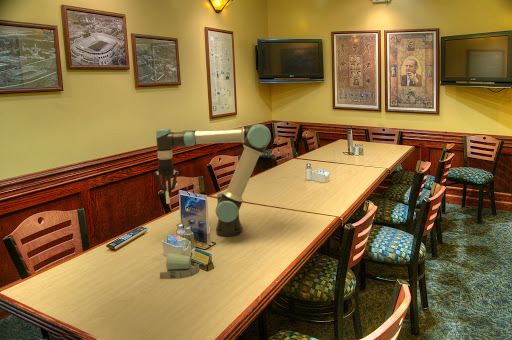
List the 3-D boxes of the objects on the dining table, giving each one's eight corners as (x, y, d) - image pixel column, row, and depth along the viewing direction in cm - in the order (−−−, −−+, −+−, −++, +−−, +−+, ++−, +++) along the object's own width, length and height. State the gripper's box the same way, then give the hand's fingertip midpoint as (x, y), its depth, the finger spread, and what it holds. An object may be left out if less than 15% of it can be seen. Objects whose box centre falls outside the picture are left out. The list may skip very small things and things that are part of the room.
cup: (187, 271, 202) (165, 270, 203) (191, 270, 210) (170, 269, 211) (188, 255, 204) (166, 253, 205) (192, 254, 211) (171, 253, 212)
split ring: (201, 263, 215) (201, 258, 215) (195, 277, 197) (195, 272, 197) (168, 264, 215) (168, 260, 215) (160, 278, 197) (159, 273, 197)
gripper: (179, 157, 233) (182, 201, 236) (154, 158, 234) (157, 202, 237) (176, 158, 226) (179, 204, 229) (150, 159, 226) (154, 205, 229)
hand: (168, 203), depth 233 cm, fingers closed
